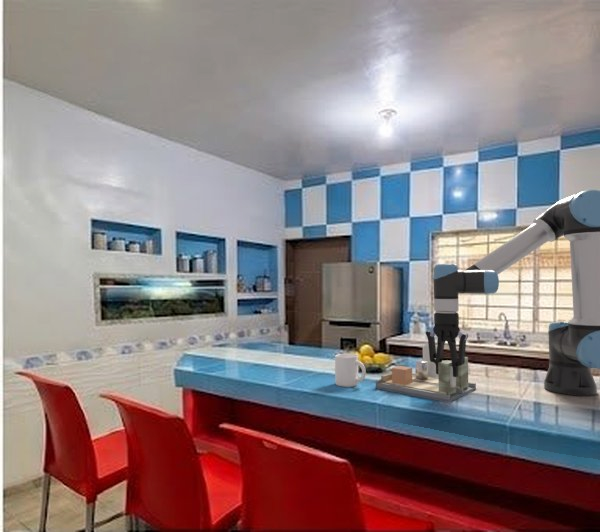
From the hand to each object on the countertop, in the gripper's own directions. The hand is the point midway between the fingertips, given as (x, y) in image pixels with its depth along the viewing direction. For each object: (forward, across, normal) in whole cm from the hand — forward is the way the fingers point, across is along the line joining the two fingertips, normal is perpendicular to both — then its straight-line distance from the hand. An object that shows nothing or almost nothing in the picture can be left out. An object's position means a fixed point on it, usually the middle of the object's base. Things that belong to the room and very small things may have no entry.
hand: (447, 385), depth 137 cm
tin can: (+1, +14, -10) cm, 18 cm away
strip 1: (+2, +10, 0) cm, 11 cm away
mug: (+4, +32, +8) cm, 33 cm away
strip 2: (+2, +10, -11) cm, 15 cm away
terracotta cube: (+1, +16, 0) cm, 16 cm away
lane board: (+4, +10, -5) cm, 12 cm away
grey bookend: (+4, +17, -26) cm, 32 cm away
